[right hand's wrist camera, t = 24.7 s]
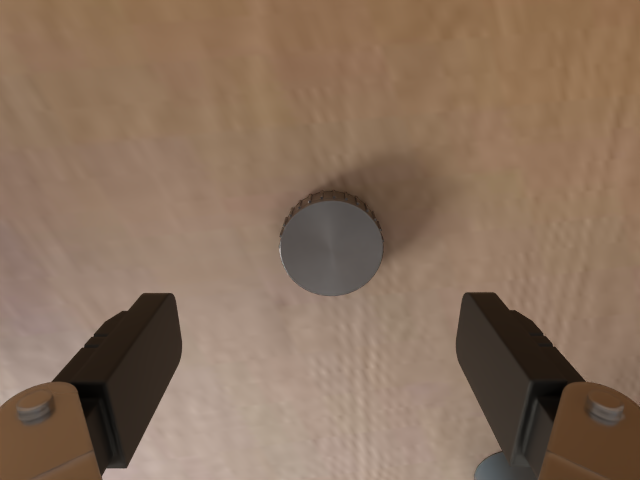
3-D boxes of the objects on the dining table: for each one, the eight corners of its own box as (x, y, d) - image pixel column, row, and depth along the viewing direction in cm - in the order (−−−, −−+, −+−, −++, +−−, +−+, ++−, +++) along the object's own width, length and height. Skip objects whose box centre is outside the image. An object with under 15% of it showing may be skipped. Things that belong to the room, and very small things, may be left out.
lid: (362, 174, 18) (365, 182, 17) (393, 264, 20) (398, 279, 18) (266, 209, 19) (260, 220, 18) (303, 293, 21) (301, 310, 19)
